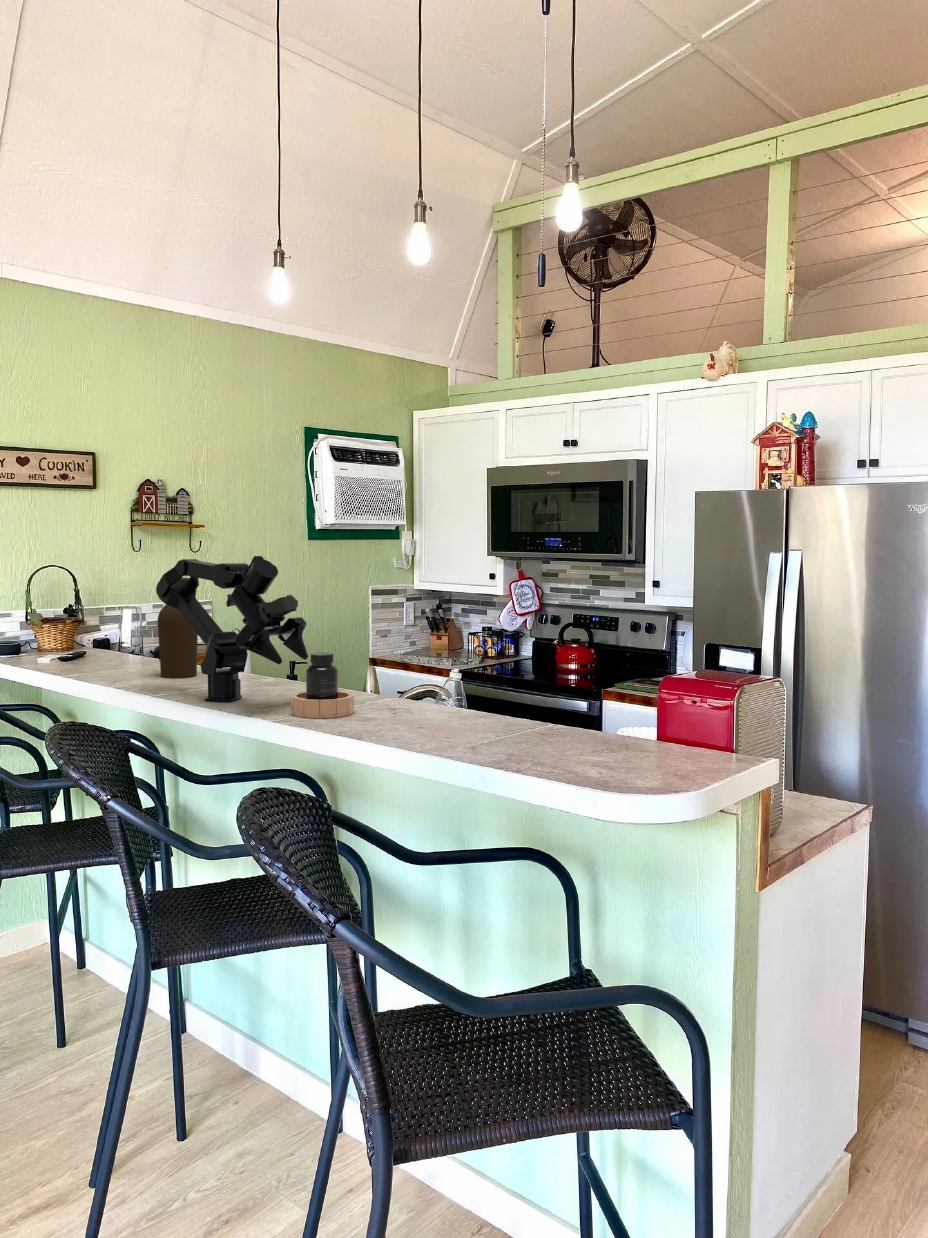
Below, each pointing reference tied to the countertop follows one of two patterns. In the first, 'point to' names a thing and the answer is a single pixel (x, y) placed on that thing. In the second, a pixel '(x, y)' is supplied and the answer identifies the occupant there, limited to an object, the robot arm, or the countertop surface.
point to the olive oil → (176, 644)
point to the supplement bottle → (322, 677)
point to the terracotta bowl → (322, 706)
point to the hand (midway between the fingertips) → (294, 660)
